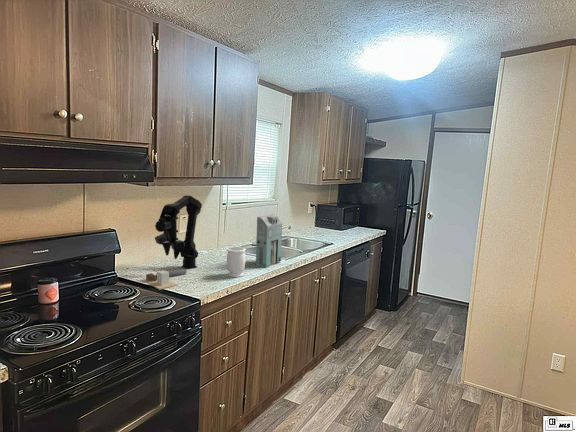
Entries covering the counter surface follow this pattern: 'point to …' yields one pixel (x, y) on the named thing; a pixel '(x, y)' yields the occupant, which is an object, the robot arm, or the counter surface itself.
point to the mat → (158, 286)
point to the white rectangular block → (163, 277)
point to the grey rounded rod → (176, 273)
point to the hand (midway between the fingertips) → (171, 257)
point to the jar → (236, 261)
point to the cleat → (150, 277)
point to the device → (268, 240)
